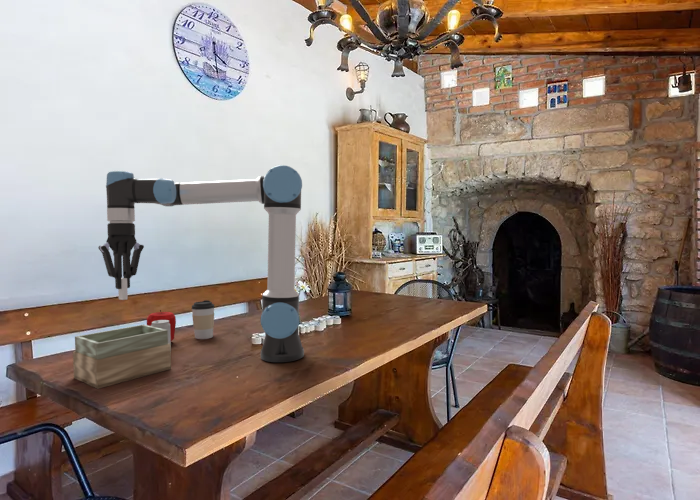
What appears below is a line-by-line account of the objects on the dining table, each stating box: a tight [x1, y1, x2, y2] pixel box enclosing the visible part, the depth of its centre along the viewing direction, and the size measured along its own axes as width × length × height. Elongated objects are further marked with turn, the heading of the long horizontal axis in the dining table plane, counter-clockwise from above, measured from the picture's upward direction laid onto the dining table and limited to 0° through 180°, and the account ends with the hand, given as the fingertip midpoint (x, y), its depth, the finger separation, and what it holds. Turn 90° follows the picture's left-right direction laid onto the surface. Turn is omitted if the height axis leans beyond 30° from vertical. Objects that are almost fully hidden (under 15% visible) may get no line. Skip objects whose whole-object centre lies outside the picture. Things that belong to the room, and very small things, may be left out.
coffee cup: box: [191, 299, 215, 340], centre depth 183 cm, size 9×9×15 cm
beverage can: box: [151, 320, 172, 352], centre depth 159 cm, size 6×6×12 cm
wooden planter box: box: [72, 324, 172, 390], centre depth 138 cm, size 16×22×12 cm
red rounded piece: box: [146, 309, 177, 342], centre depth 173 cm, size 10×10×14 cm
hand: (123, 299), depth 138 cm, fingers closed
